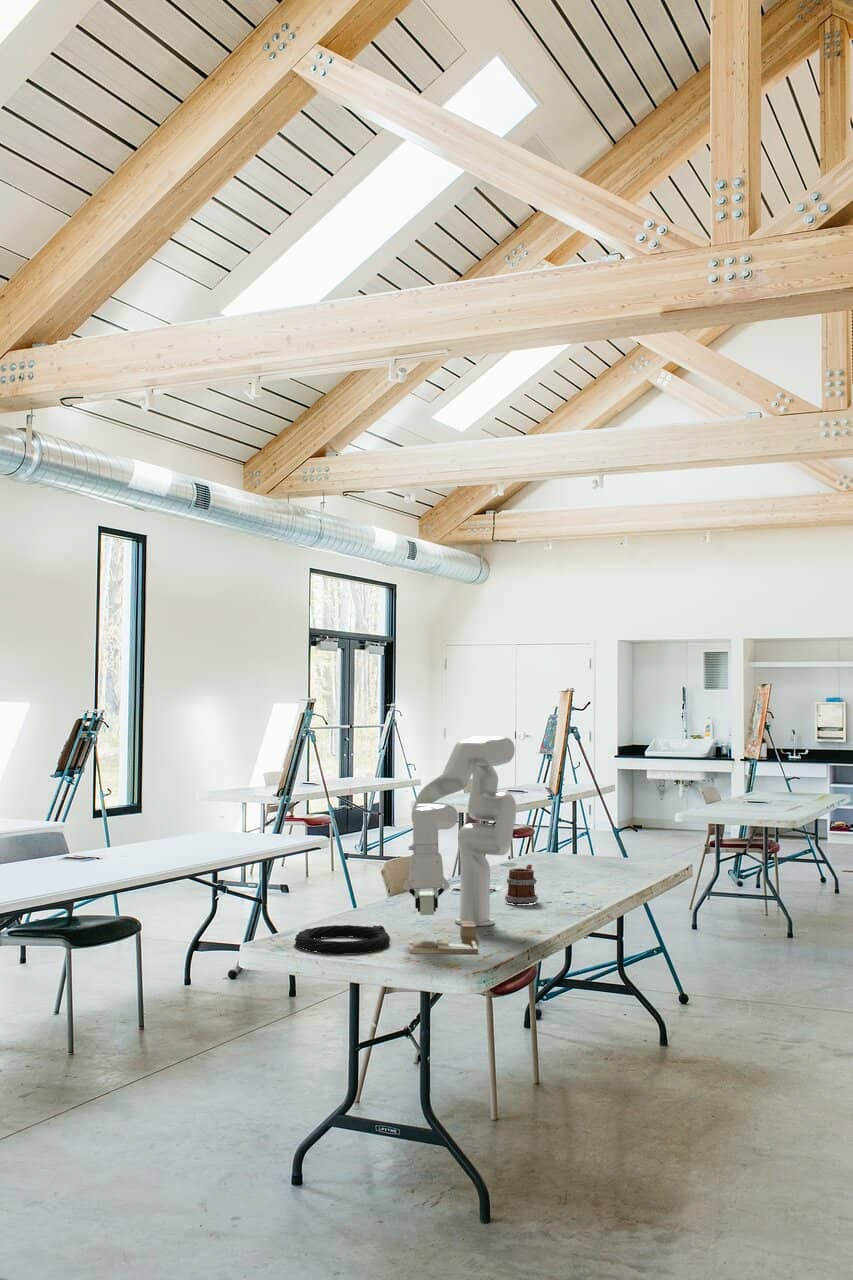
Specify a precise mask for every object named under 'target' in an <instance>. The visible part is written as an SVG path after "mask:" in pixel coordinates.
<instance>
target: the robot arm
mask: <svg viewBox="0 0 853 1280" xmlns="http://www.w3.org/2000/svg"><path fill="white" fill-rule="evenodd" d="M515 753H516V750H515V744H514V742H513V741H512V738H509V737H506V736H484V735H483V736H482V735H481V736H479V735H478V736H471V737H469V738H467V739H461V740H458V741H457V743H455V745H454V747H453V749H452V752H451V754H450V757H449V758H448V760H447V762H446V765H445V767H444V770H443V772H442V773H441V774H440V775H439V776H437V777H436V778H434V779H433V780H432V781H430V782H429V783H427V784H426V785H425V786H424V787H423V788H422V789H421V790H420V792H419V793H418V795H417V797H416V799H415V802H414V804H413V806H412V810H411V814H410V815H411V817H410V818H411V821H412V838H413V839H412V843H413V844H411V845H408V851H412V852H413V853H411V854H410V858H409V869H408V878H407V879H406V880H405V882H404V883H403V886H402V888H403V889H404V890H405V891H407V892H409V893H410V894H411V896H413V897H414V901H415V903H414V905H415V906H414V909H417V912H418V913H420V897H419V892H421V891H420V889H423V890H424V889H428V890H429V889H433V896H434V913H435V912H437V910H436V909H439V901H438V900H439V897H440V896H441V895H442V894H443V893H444V892H445V891H446V890H449V888H450V887H451V885H450V884H449V882H448V881H447V879H446V878H445V876H444V863H443V858H442V856H443V855H442V853H441V852H439V830H450V829H452V828H454V827H455V826H456V824H457V822H458V820H459V819H458V818H459V815H458V810H457V809H456V808H455V807H454V806H452V805H450V804H444V803H442V804H441V803H440V804H439V803H435V802H437V801H439V800H440V799H442V798H444V797H446V796H449V795H452V794H455V793H458V792H460V791H463V790H464V789H465V788H466V787H467V786H468V783H469V781H470V778H471V777H472V780H471V786H470V793H469V799H468V804H467V813H468V816H469V817H470V818H471V819H473V820H476V821H482V822H495V824H487V823H475V822H474V823H467V824H464V825H461V827H460V828H459V830H458V832H457V844H458V849H459V856H460V860H459V861H460V883H459V884H460V886H459V887H460V888H459V889H460V890H459V891H460V897H459V898H460V899H459V901H460V902H459V903H460V904H459V908H460V909H459V910H460V911H459V917H455V919H454V921H455V924H457V925H461V921H474V923H475V925H476V927H485V926H487V927H488V926H491V925H492V926H493V924H495V919H494V918H493V917H491V914H490V913H491V912H490V911H491V910H490V908H491V907H490V905H491V904H490V903H491V901H490V899H491V896H490V895H491V891H490V890H491V889H490V888H491V868H490V864H489V862H488V861H489V860H488V859H487V858H486V855H490V856H505V855H507V854H508V853H509V851H510V848H511V845H512V840H513V835H514V827H515V822H516V816H517V804H516V803H517V802H516V799H515V797H514V796H513V795H512V794H511V793H509V792H504V791H501V792H500V791H498V783H499V776H498V773H497V771H496V769H495V767H497V766H501V765H505V764H508V763H510V762H511V761H512V759H513V758H514V757H515Z"/></svg>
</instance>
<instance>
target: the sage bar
mask: <svg viewBox="0 0 853 1280" xmlns="http://www.w3.org/2000/svg"><path fill="white" fill-rule="evenodd" d="M419 897H420V912H419V916H434V915H435V912H434V891H419Z"/></svg>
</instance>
